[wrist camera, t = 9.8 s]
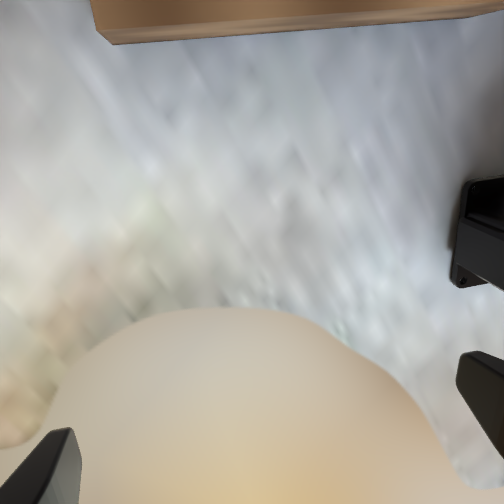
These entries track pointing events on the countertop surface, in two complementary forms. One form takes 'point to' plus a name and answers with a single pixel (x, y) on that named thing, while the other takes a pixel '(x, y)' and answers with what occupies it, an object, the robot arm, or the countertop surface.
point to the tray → (263, 16)
